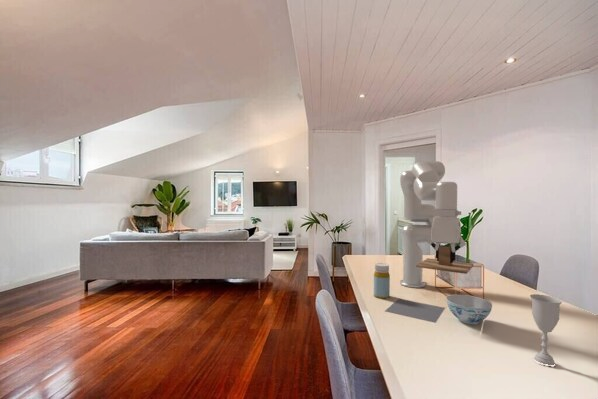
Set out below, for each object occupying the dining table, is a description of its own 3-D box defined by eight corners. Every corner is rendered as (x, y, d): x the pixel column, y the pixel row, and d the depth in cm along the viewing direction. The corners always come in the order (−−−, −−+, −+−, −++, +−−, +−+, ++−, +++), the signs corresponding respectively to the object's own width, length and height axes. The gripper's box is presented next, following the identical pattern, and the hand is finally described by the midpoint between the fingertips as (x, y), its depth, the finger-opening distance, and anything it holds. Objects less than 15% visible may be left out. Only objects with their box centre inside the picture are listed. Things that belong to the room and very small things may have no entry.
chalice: (522, 356, 90) (523, 294, 90) (544, 355, 91) (545, 294, 91) (544, 370, 83) (545, 303, 83) (568, 369, 84) (569, 302, 83)
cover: (427, 260, 131) (427, 241, 131) (473, 265, 121) (473, 245, 121) (416, 267, 118) (416, 246, 118) (466, 273, 108) (466, 251, 108)
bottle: (387, 295, 146) (388, 263, 145) (390, 300, 139) (391, 266, 138) (372, 294, 146) (373, 262, 146) (374, 299, 139) (375, 266, 139)
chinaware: (489, 318, 119) (489, 297, 119) (494, 333, 105) (495, 310, 105) (445, 311, 125) (446, 292, 125) (446, 325, 112) (446, 304, 112)
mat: (398, 299, 139) (398, 298, 139) (445, 308, 129) (445, 307, 129) (384, 312, 124) (384, 311, 124) (435, 323, 113) (435, 322, 113)
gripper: (472, 214, 118) (471, 262, 118) (425, 212, 127) (425, 257, 128) (469, 215, 112) (468, 266, 112) (420, 213, 121) (420, 260, 121)
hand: (445, 260), depth 120 cm, fingers closed on cover, 4 cm apart
